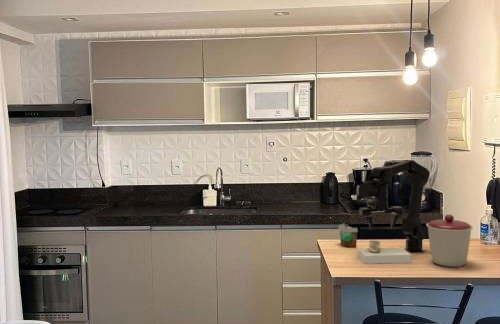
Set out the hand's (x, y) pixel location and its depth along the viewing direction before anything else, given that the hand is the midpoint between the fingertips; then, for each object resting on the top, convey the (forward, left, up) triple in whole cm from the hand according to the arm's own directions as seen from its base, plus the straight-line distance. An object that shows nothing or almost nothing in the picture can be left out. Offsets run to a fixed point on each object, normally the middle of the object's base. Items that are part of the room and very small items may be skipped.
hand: (381, 229), depth 202 cm
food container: (+11, -22, -13) cm, 28 cm away
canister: (-25, +12, -13) cm, 31 cm away
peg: (+4, +3, -12) cm, 13 cm away
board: (0, +3, -13) cm, 13 cm away
